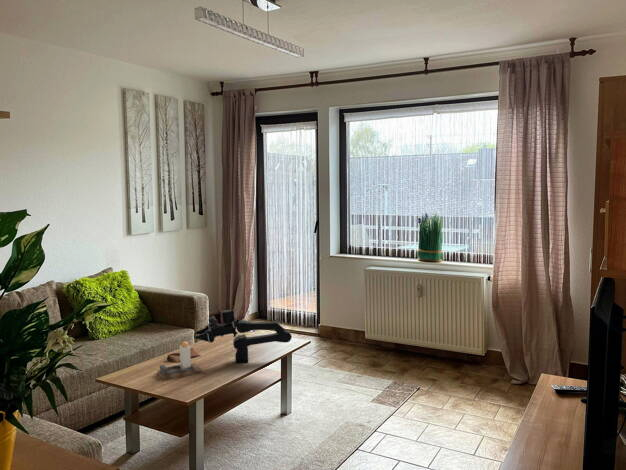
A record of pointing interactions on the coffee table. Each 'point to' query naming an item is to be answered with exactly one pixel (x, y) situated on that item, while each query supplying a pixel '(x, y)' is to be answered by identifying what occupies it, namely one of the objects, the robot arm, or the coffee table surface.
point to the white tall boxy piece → (185, 355)
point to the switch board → (178, 371)
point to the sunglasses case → (176, 356)
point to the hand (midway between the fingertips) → (195, 335)
